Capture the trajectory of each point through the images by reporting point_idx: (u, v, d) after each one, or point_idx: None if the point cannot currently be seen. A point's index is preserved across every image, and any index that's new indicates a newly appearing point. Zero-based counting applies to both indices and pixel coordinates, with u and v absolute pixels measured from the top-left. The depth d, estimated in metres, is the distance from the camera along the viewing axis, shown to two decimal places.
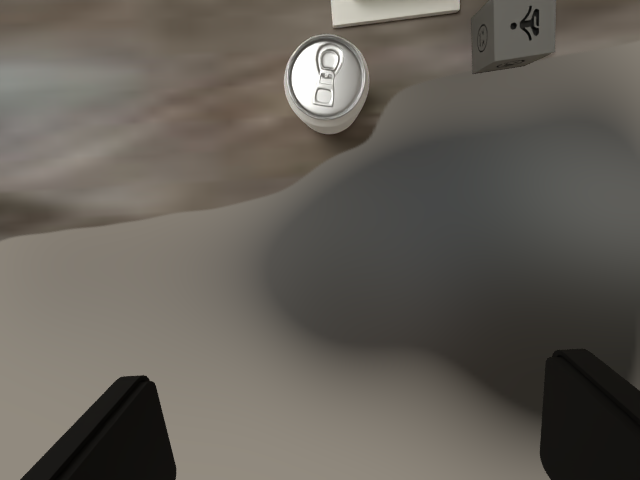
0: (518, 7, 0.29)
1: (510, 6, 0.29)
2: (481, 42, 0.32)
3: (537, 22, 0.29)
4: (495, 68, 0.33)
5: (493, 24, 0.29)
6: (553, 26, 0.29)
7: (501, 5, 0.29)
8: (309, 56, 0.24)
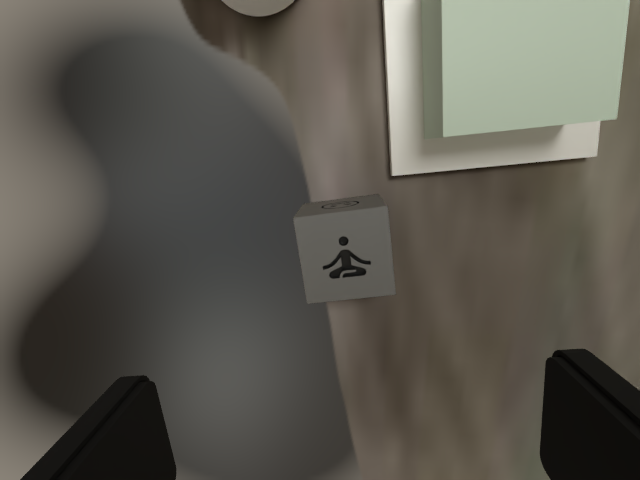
0: (369, 245, 0.18)
1: (371, 233, 0.18)
2: (335, 204, 0.21)
3: (348, 275, 0.19)
4: None
5: (347, 211, 0.18)
6: (341, 297, 0.19)
7: (373, 219, 0.18)
8: None
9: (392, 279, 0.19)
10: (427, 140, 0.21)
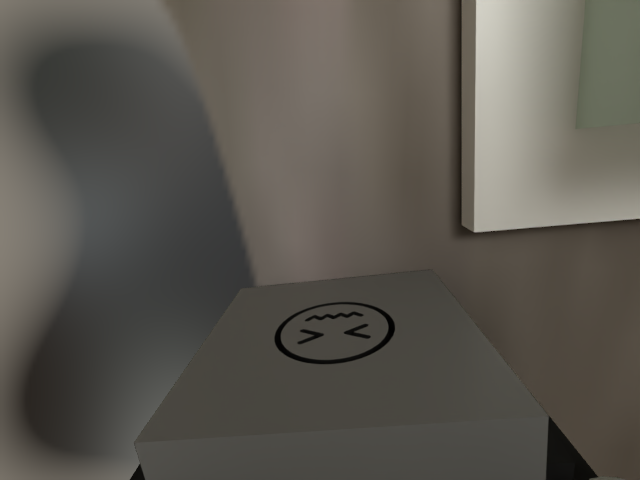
0: None
1: None
2: (320, 324, 0.07)
3: None
4: None
5: (366, 417, 0.04)
6: None
7: (477, 463, 0.04)
8: None
9: None
10: (585, 132, 0.07)
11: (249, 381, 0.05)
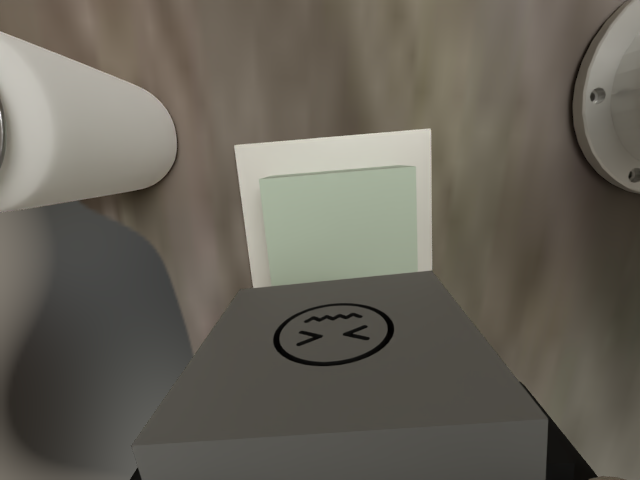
0: None
1: None
2: (319, 325, 0.07)
3: None
4: None
5: (365, 420, 0.04)
6: None
7: (476, 466, 0.04)
8: None
9: None
10: None
11: (247, 383, 0.05)
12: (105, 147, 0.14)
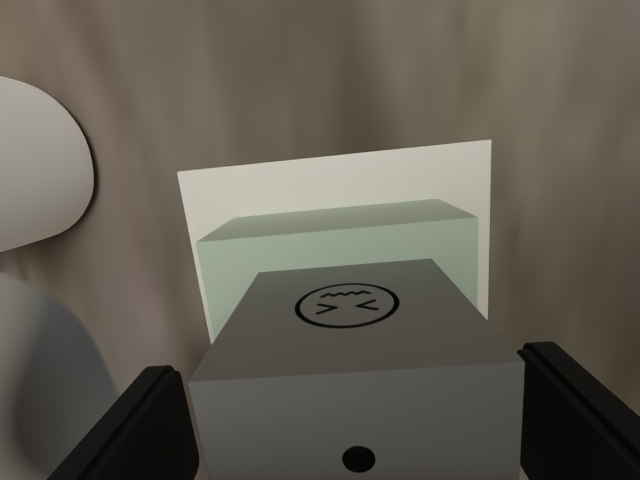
0: (444, 476, 0.05)
1: (455, 443, 0.05)
2: (334, 300, 0.08)
3: None
4: None
5: (378, 364, 0.05)
6: None
7: (467, 402, 0.05)
8: None
9: None
10: None
11: (277, 340, 0.06)
12: None
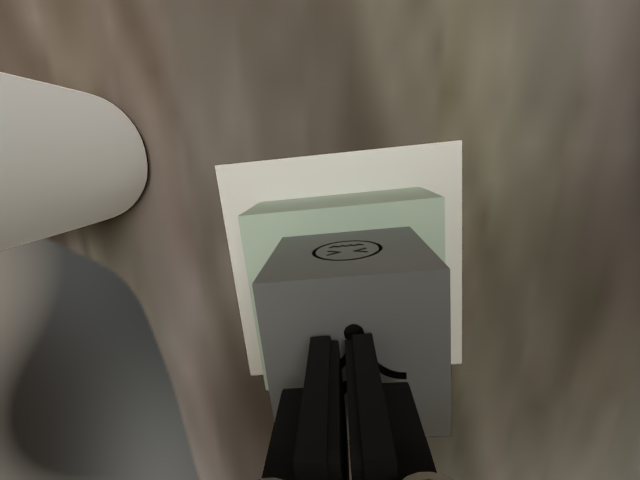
0: (405, 343, 0.09)
1: (411, 321, 0.09)
2: (338, 248, 0.11)
3: None
4: None
5: (365, 274, 0.09)
6: None
7: (418, 294, 0.09)
8: None
9: (447, 409, 0.09)
10: None
11: (303, 267, 0.10)
12: (23, 188, 0.11)
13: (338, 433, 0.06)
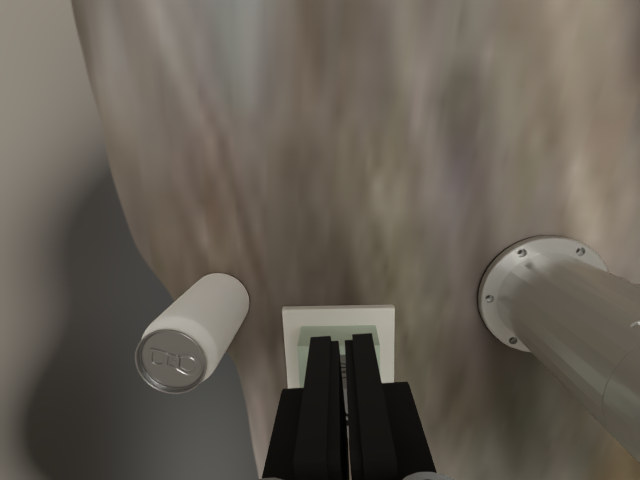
0: None
1: None
2: None
3: None
4: None
5: (345, 387, 0.29)
6: None
7: None
8: (190, 348, 0.26)
9: None
10: None
11: None
12: (228, 344, 0.31)
13: (338, 433, 0.06)
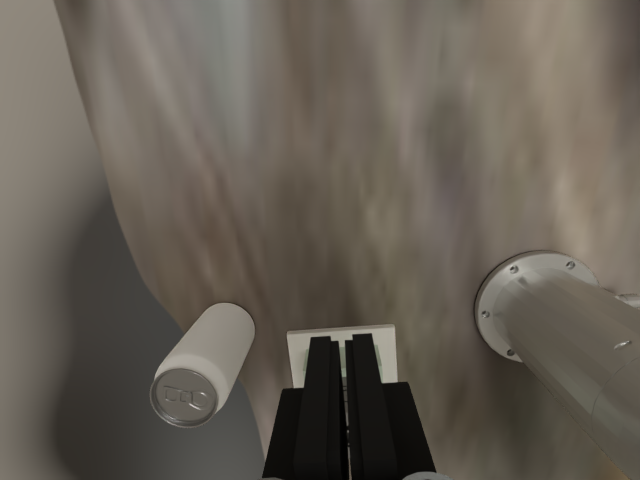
0: None
1: None
2: None
3: (348, 445, 0.31)
4: None
5: None
6: None
7: None
8: (201, 385, 0.28)
9: None
10: None
11: None
12: (237, 375, 0.32)
13: (338, 433, 0.06)
